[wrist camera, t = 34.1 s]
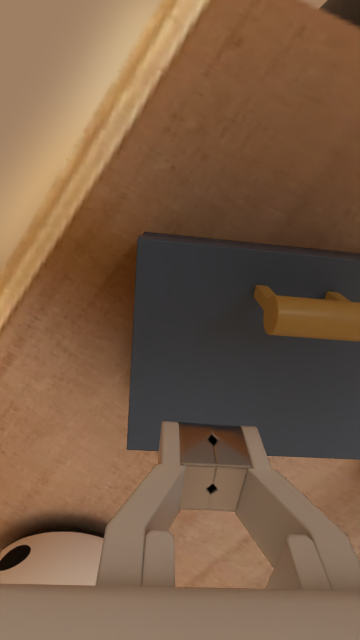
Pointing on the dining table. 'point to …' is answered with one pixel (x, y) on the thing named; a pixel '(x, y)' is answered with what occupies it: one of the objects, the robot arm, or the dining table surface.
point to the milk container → (52, 558)
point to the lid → (247, 345)
